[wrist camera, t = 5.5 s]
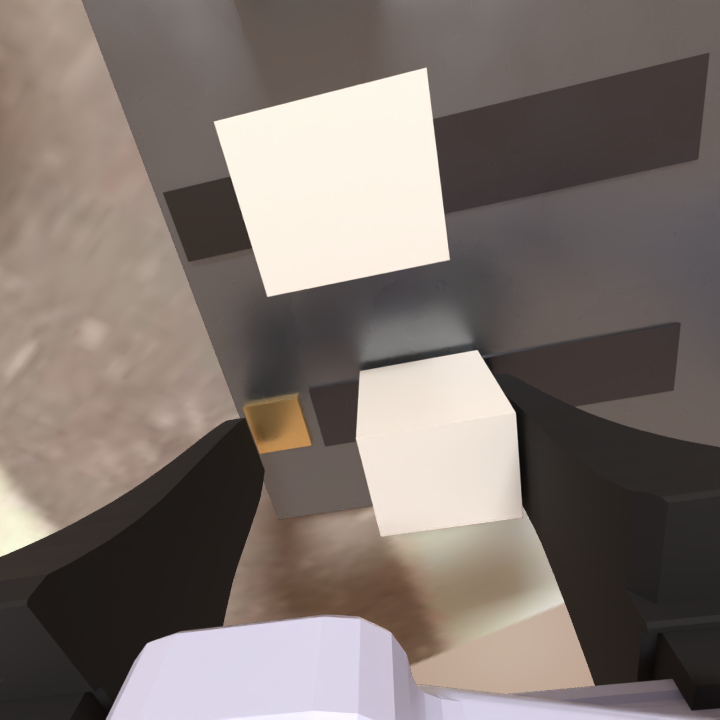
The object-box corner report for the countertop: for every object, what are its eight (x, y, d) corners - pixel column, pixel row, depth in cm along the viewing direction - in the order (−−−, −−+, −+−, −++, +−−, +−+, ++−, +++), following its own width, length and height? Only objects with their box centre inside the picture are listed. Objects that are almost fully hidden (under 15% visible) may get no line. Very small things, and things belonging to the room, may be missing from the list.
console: (840, -593, 7) (1023, -892, 5) (699, 420, 15) (749, 456, 13) (21, -279, 9) (-82, -413, 7) (288, 482, 17) (277, 523, 15)
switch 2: (477, 350, 12) (515, 412, 9) (486, 435, 13) (522, 517, 10) (360, 370, 12) (355, 438, 9) (378, 451, 14) (381, 536, 10)
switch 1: (408, 104, 10) (426, 67, 6) (426, 235, 11) (449, 259, 8) (264, 139, 10) (214, 122, 7) (297, 262, 11) (267, 297, 8)
